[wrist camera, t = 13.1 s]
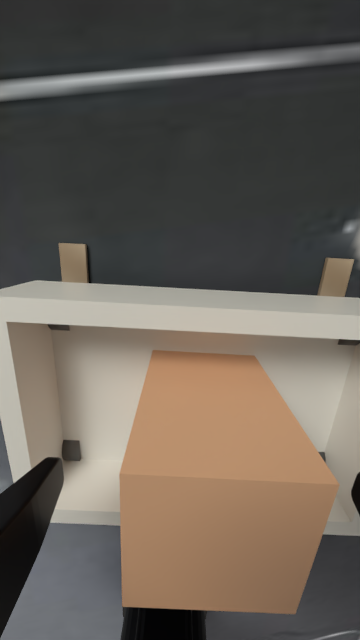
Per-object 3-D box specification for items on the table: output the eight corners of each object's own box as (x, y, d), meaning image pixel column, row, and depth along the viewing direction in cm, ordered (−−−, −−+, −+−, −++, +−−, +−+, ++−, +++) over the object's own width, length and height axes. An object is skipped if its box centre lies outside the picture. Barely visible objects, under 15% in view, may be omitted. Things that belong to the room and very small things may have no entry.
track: (284, 516, 16) (286, 519, 16) (84, 507, 16) (83, 510, 16) (350, 259, 11) (354, 259, 11) (60, 243, 11) (58, 243, 11)
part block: (240, 437, 12) (295, 613, 6) (150, 433, 12) (122, 606, 6) (254, 355, 11) (339, 484, 5) (152, 350, 11) (119, 473, 5)
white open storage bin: (315, 458, 14) (365, 536, 10) (64, 446, 14) (21, 521, 10) (362, 295, 11) (453, 320, 8) (45, 278, 11) (-25, 295, 7)
